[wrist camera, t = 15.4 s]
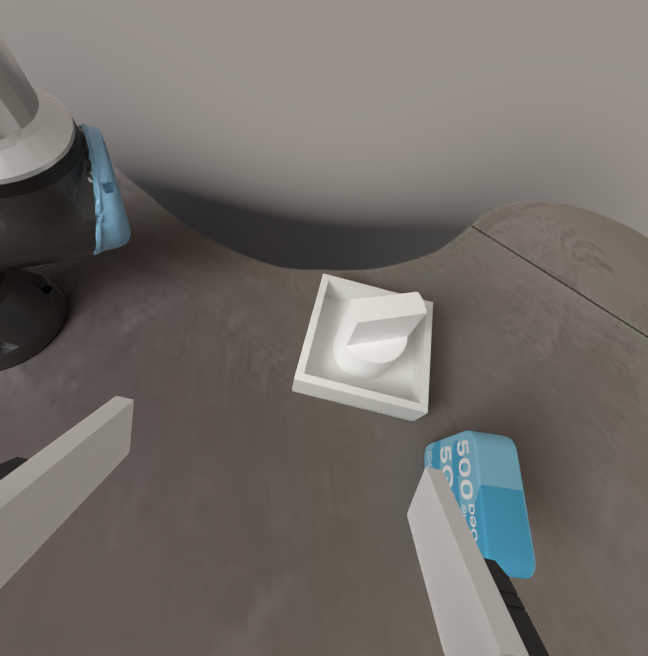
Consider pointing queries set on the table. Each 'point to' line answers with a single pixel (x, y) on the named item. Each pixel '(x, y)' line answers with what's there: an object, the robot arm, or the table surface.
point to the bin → (370, 394)
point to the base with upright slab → (376, 332)
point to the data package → (488, 495)
